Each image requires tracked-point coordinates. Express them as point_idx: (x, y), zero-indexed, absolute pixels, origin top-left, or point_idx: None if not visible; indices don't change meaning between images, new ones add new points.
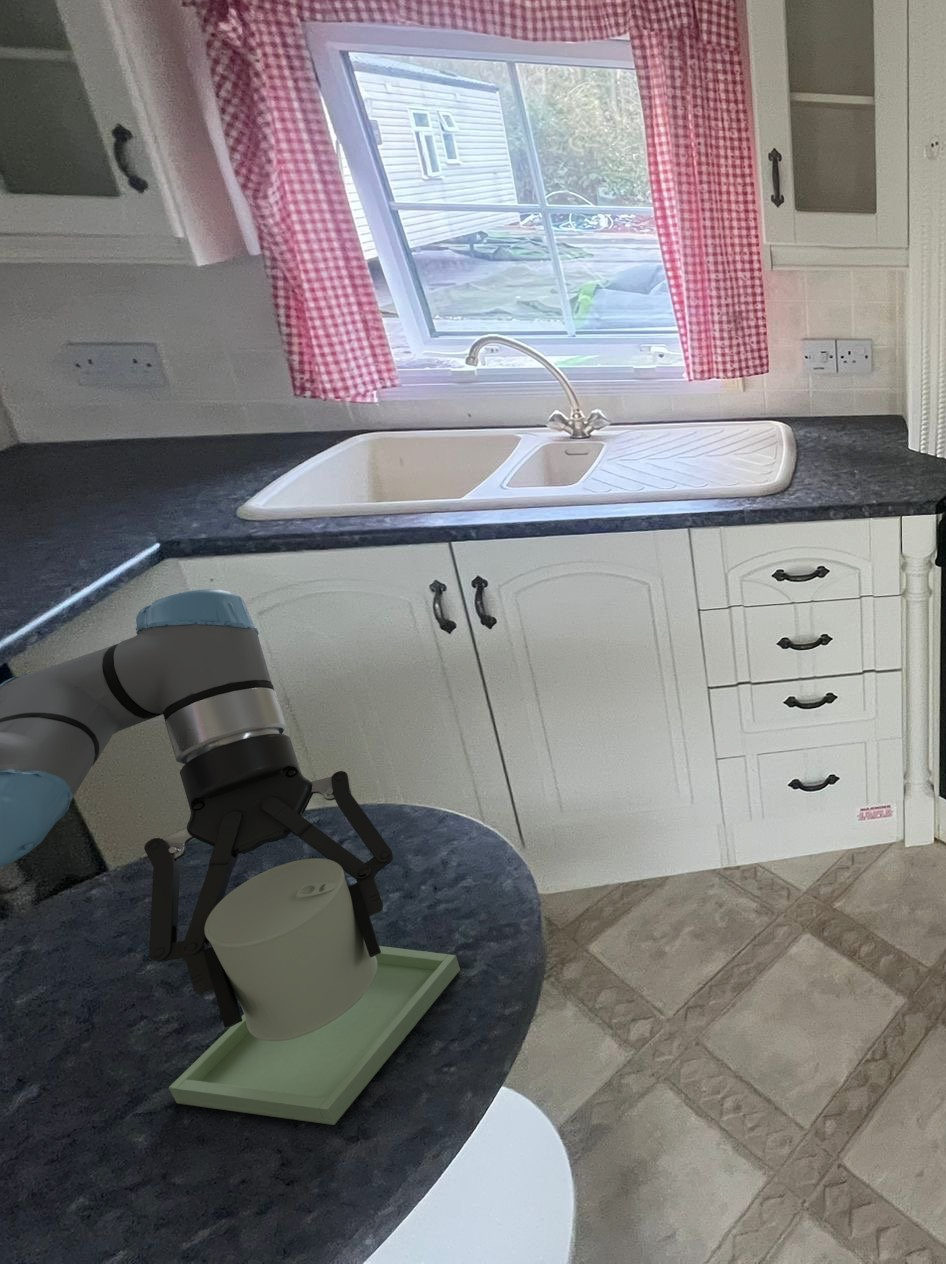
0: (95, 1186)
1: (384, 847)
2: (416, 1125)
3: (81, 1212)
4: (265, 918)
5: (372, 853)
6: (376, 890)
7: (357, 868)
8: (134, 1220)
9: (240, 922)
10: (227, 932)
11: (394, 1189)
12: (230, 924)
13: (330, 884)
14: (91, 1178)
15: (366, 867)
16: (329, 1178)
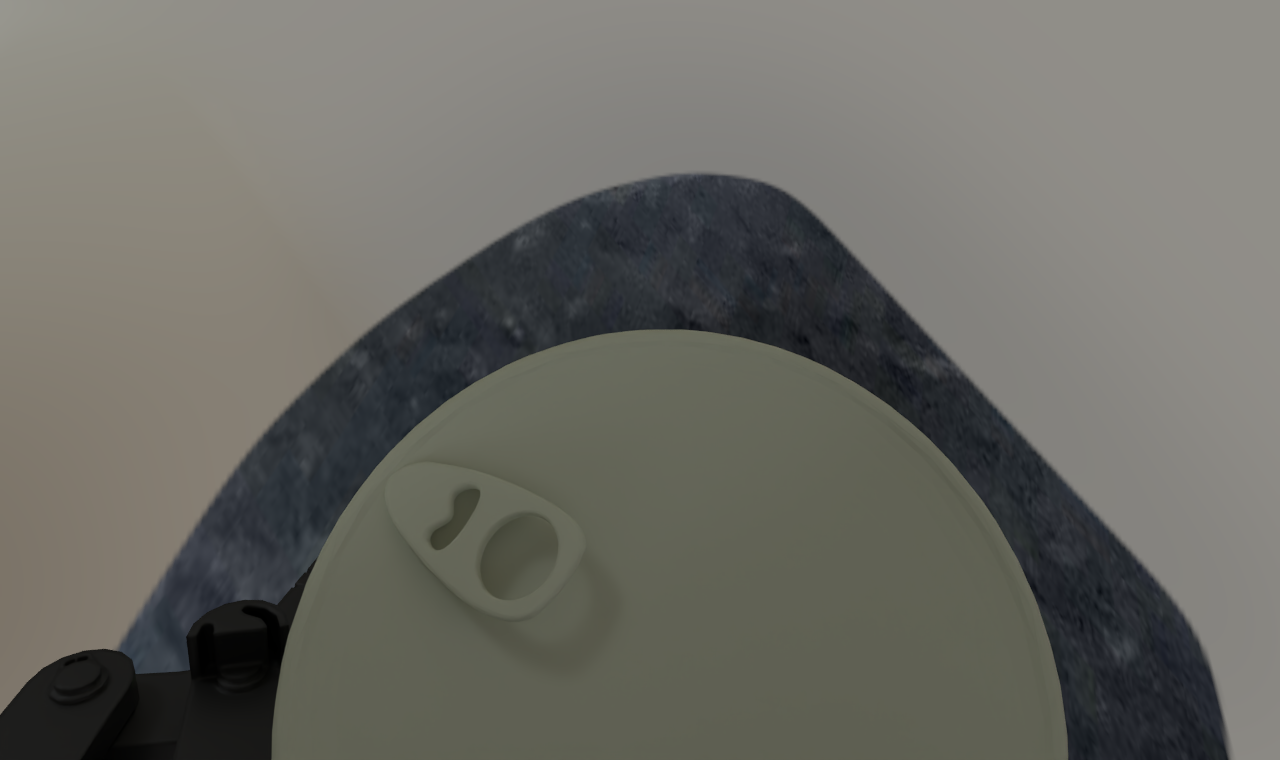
0: (1095, 664)
1: (17, 721)
2: (610, 264)
3: (1113, 615)
4: (767, 549)
5: (96, 734)
6: (289, 601)
7: (236, 708)
8: (1028, 501)
9: (884, 640)
10: (955, 607)
11: (682, 186)
12: (934, 677)
13: (410, 511)
14: (1104, 697)
15: (204, 680)
16: (751, 291)
